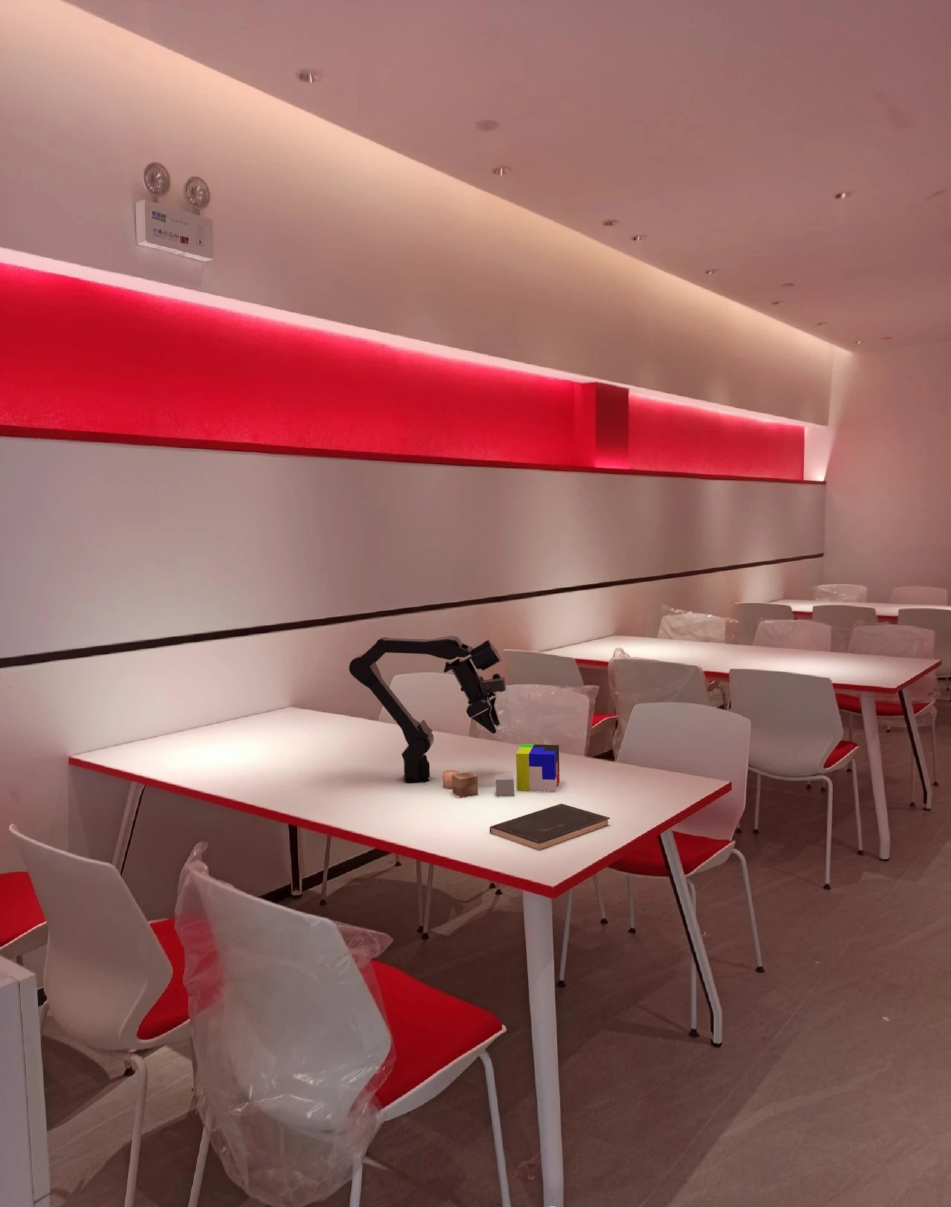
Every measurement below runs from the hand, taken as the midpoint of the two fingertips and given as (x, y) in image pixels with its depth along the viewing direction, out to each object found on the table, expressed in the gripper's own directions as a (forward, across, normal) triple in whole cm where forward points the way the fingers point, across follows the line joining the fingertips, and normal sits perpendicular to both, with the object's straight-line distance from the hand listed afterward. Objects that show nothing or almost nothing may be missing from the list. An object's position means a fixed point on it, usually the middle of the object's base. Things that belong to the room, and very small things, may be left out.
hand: (496, 729), depth 255 cm
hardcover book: (+20, -39, -7) cm, 45 cm away
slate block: (+14, -13, +4) cm, 19 cm away
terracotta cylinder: (+7, -7, +17) cm, 20 cm away
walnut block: (+9, -13, +13) cm, 21 cm away
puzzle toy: (+18, -6, -3) cm, 19 cm away
